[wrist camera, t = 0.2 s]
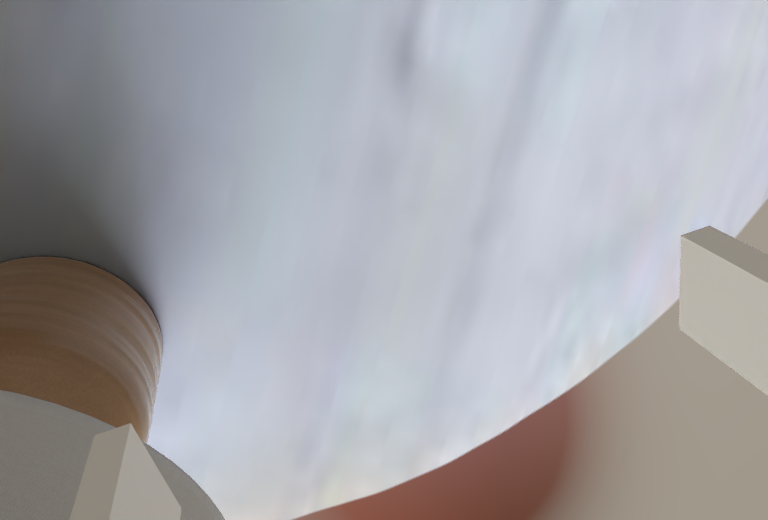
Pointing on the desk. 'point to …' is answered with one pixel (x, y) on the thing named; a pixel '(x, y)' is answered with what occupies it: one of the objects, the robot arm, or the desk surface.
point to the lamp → (74, 383)
